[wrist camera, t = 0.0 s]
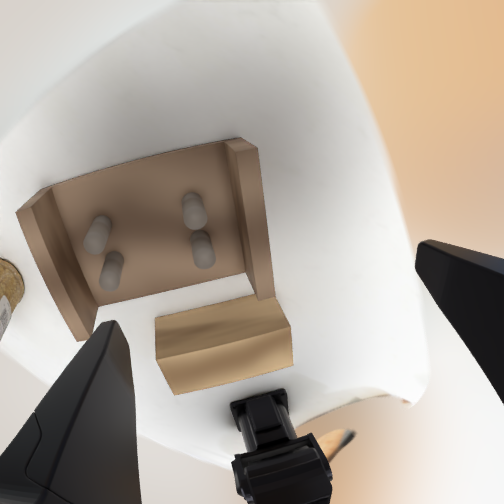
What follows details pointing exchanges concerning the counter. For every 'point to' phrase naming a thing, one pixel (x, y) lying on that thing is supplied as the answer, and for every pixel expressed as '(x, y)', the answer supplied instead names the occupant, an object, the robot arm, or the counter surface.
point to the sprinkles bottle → (9, 293)
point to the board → (222, 343)
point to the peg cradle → (150, 229)
